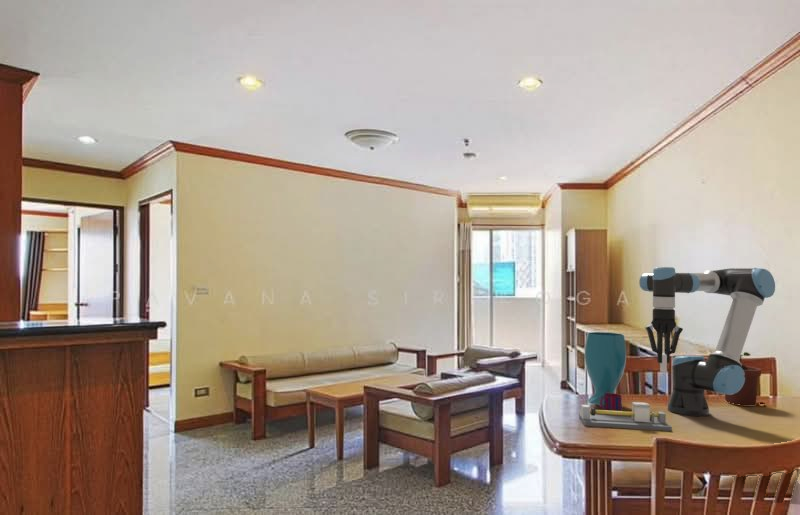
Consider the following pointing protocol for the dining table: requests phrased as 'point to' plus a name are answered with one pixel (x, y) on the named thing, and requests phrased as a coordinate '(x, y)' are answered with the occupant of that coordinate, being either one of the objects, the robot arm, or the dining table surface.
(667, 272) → the robot arm
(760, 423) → the dining table surface
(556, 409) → the dining table surface
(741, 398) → the potted plant
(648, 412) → the sleeve
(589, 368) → the vase
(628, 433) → the dining table surface
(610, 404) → the mug
